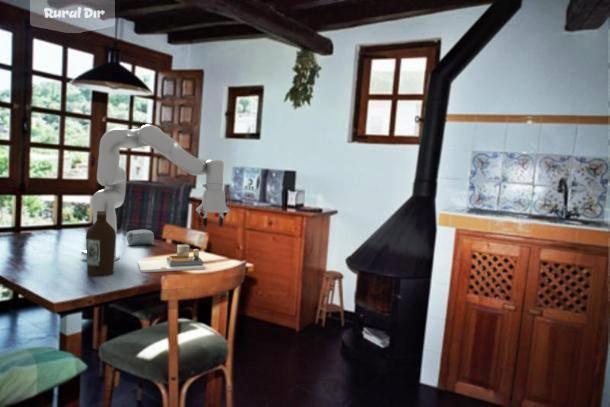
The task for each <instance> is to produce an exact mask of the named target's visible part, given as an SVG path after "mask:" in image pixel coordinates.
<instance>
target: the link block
mask: <svg viewBox="0 0 610 407" xmlns="http://www.w3.org/2000/svg"><path fill="white" fill-rule="evenodd" d="M176 255H189V256H190V246H189V245H188V244H177V247H176Z"/></svg>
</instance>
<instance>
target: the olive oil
mask: <svg viewBox="0 0 610 407" xmlns="http://www.w3.org/2000/svg"><path fill="white" fill-rule="evenodd" d="M85 241H86V242H85V243H86V251H87V255H86V264H87V265H86V266H87V267H86V268H87V269H86V270H87V273H86V274H87V275H88V276H90V277H107V276H111V275H113V273H114V272H115V271H114V270H115V260H114V254H115V241H116V242H117V232H116V233H115V230H114V229H113V227H112V226H111V225H110V224H109V223H108V222H107V221H106V211H97V221H96V222H95V223H94V224H93V223H92V225H91V226H89V228H88V229H87V231H86V235H85Z"/></svg>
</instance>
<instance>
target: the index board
mask: <svg viewBox="0 0 610 407" xmlns="http://www.w3.org/2000/svg"><path fill="white" fill-rule="evenodd" d="M136 264H137V266H138V268H139V271H140V273H155V272H158V273H159V272H173V271H176V272H177V271H190V270H193V269H195V270H200V269H199V268H204V269H205V265H203V264H201V265H182V266H170V265H169V264H168V262H167V259H156V260H154V259H153V260H137V263H136Z"/></svg>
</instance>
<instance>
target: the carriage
mask: <svg viewBox="0 0 610 407" xmlns="http://www.w3.org/2000/svg"><path fill="white" fill-rule="evenodd" d="M192 253H193V256H192V255H191V256H190V254H189V255H177V254H176V255H168V257H166V260H167V262H168V264H169V265H170V266H182V265H201V264H202V265H203V264H204V261H203V260H202V259H201V257H200V249H199V248H195V249H193V252H192Z"/></svg>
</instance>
